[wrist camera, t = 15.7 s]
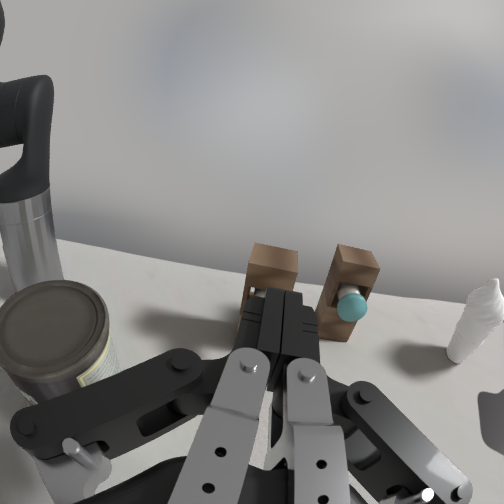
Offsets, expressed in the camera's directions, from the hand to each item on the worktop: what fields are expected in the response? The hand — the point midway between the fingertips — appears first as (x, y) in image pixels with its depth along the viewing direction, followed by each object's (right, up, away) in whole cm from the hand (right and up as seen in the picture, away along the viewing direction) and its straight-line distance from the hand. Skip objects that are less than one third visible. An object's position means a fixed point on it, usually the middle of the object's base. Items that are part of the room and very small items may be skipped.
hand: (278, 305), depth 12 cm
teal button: (+12, -5, +24) cm, 28 cm away
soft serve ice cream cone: (+35, -16, +24) cm, 46 cm away
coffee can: (-18, -15, +10) cm, 25 cm away
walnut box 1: (-1, -10, +25) cm, 27 cm away
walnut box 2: (+11, -10, +29) cm, 32 cm away
